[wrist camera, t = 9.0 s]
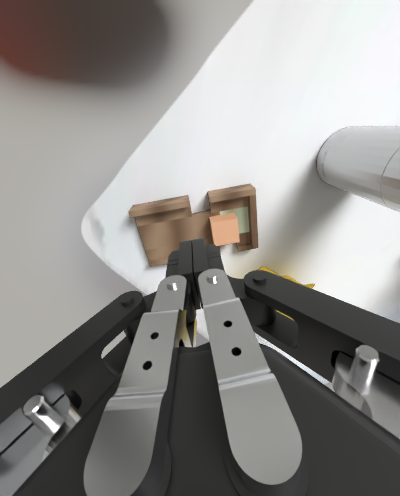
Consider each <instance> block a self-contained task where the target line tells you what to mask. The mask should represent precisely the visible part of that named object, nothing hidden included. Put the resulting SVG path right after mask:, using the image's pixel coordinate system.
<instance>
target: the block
mask: <svg viewBox="0 0 400 496" xmlns="http://www.w3.org/2000/svg"><path fill="white" fill-rule="evenodd" d="M209 219H210V225H211V231H212V238H213V242H214V244H215V245H216V246H220V245H226V244H232V243H237V242H240V239H239V229H238V218H237V217H236V215H235V213H228V214H223V215H217V216H212V217H209Z"/></svg>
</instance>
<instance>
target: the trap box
mask: <svg viewBox="0 0 400 496" xmlns="http://www.w3.org/2000/svg"><path fill="white" fill-rule="evenodd" d="M208 197H209V203H210V210H209V211H204V212H198V213H193V214H192V212H191V207H190V202H189V197H188V195H186V196H181V197H175V198H170V199H164V200H159V201H153V202H148V203H143V204H137V205H133V206H132V208H131V209H130V210H129V215H130V217H134V218H135V221H136V224H137V227H138V230H139V233H140V236H141V239H142V242H143V245H144V248H145V251H146V254H147V257H148V260H149V265H150V267H151V266H157V265H163V264H167V263H168V256H169V255H170V254H171V252H172V251H176V250H179V244H180V242H182V241H188V240H193V239H199V238H204V241H205V245H210V244H214V242H213V238H212V231H211V225H210V219H209V217H212V216H217V215H223V214H228V213H235V215H236V217H237V218H238V229H239V239H240V242H237V243H236V247H237V249H238V251H244V250H249V249H255V248H258V231H257V210H256V190H255V188H254V187H253V186H252V185H251V184H246V185H240V186H235V187H229V188H224V189H219V190H213V191H208ZM217 247H218V248H219V246H217ZM219 252H220V249H219ZM220 255H221V254H220Z"/></svg>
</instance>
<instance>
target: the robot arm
mask: <svg viewBox="0 0 400 496" xmlns="http://www.w3.org/2000/svg"><path fill="white" fill-rule="evenodd" d="M317 171H318V174H319V176H320V178H321V179H322V180H323V181H324V182H326V183H327V184H330V185H332V186H335V187H337V188H340V189H342V190H345V191H347V192H350V193H352V194H355V195H357V196H360V197H362V198H365V199H368V200H370V201H373V202H375V203H378V204H380V205H383V206H385V207H388V208H391V209H393V210H396V211H399V212H400V126H351V127H346V128H343V129H341V130H339V131H337V132H335V133H334V134H333V135H332V136H330V137H329V138H328V139H327V141H326V142H325V143H324V144H323V146H322V148H321V150H320V152H319V155H318V158H317ZM200 303H201V307H202V309H204V314H205V319H206V324H207V329H208V335H209V340H210V342H208V343H206V344H203V345H201V346H198V347H196V327H197V321H196V310H197V309H201V307H200ZM276 310H277V311H279V312H281V313H283V314H285V315H287V316H289V317H290V318H292V319H293V320H292V319H290V318H288V317H287V316H285V315H283V314H281V313H279V312H277V311H276ZM123 330H124V332H125V334H126V337H125V338H124V339H123V340H122V341H121V342H120V343H119V344H117V345H116V346H115V347H114V348H113V349H112V350H111V351H110V352H109V353H108V354H107V355H106V356H105V357H104V358H103V359H102V358H101V354H102V351H103V349H104V348H105V347H106V346H107V345H108V344H109V343H110V342H111V341H112V340H113V339H114V338H115V337H116V336H118V335H119V334H120V333H121V332H122V331H123ZM254 332H255V333H257V334H258V335H260V336H261V337H263V338H264V339H266V340H267V341H269V342H270V343H272V344H273V345H275V346H276V347H278V348H279V349H281V350H282V351H284V352H285V353H287V354H288V355H290V356H292V357H293V358H295V359H296V360H298V361H299V362H301V363H302V364H304V365H305V366H307V367H308V368H310V369H311V370H313V371H314V372H316V373H317V374H319V375H320V376H322V377H323V378H325V379H327V380H328V381H330V382H331V383H332V385H333V389H334V391H335V392H333V391H332V390H331V389H329V388H328V387H327V386H325V385H324V384H322V383H321V382H320V381H318V380H317V379H315V378H314V377H313V376H311V375H310V374H308V373H307V372H306V371H304V370H303V369H301V368H300V367H299V366H297V365H296V364H294V363H293V362H292V361H290V360H289V359H287V358H286V357H285V356H283V355H282V354H280V353H279V352H277V351H276V350H274V349H272V348H270V347H268V346H266V345H263V344H260V343H258V341H257V338H256V336H255V334H254ZM0 496H400V324H399V323H397V322H394V321H391V320H389V319H386V318H384V317H381V316H379V315H376V314H374V313H371V312H369V311H366V310H364V309H361V308H359V307H356V306H354V305H351V304H349V303H346V302H344V301H341V300H339V299H336V298H334V297H331V296H329V295H326V294H324V293H321V292H318V291H316V290H313V289H311V288H308V287H306V286H303V285H301V284H298V283H296V282H293V281H291V280H288V279H286V278H283V277H281V276H278V275H276V274H273V273H271V272H268V271H264V270H256V271H252V272H249V273H248V274H246V276H245V277H244V279H236V278H232V277H230V276H228V275H227V274H226V273H225V271H224V267H223V264H222V260H221V256H220V252H219V248H218V247H217V246H216V245H215V244H210V245H205V241H204V238H199V239H193V240H188V241H182V242H180V244H179V250H176V251H172V252H171V254H170V255H169V256H168V263H167V270H166V277H165V279H163V280H162V281H161V282H160V284H159V286H158V289H157V291H156V292H154V293H152V294H149V295H147V296H144V297H143V296H142V293H140V292H138V291H130V292H126V293H124V294H122V295H120V296H119V297H118V298H116V299H115V300H114V301H113V302H111V303H110V304H109V305H108V306H106V307H105V308H104V309H102V310H101V311H100V312H98V313H97V314H96V315H94V316H93V317H92V318H90V319H89V320H88V321H87V322H85V323H84V324H83V325H81V326H80V327H79V328H78V329H76V330H75V331H74V332H72V333H71V334H70V335H68V336H67V337H66V338H65V339H63V340H62V341H61V342H59V343H58V344H57V345H56V346H54V347H53V348H52V349H50V350H49V351H48V352H47V353H45V354H44V355H43V356H41V357H40V358H39V359H37V360H36V361H35V362H34V363H32V364H31V365H30V366H28V367H27V368H26V369H25V370H23V371H22V372H21V373H19V374H18V375H17V376H15V377H14V378H13V379H12V380H10V381H9V382H8V383H6V384H5V385H4V386H2V387H1V388H0Z"/></svg>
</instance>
